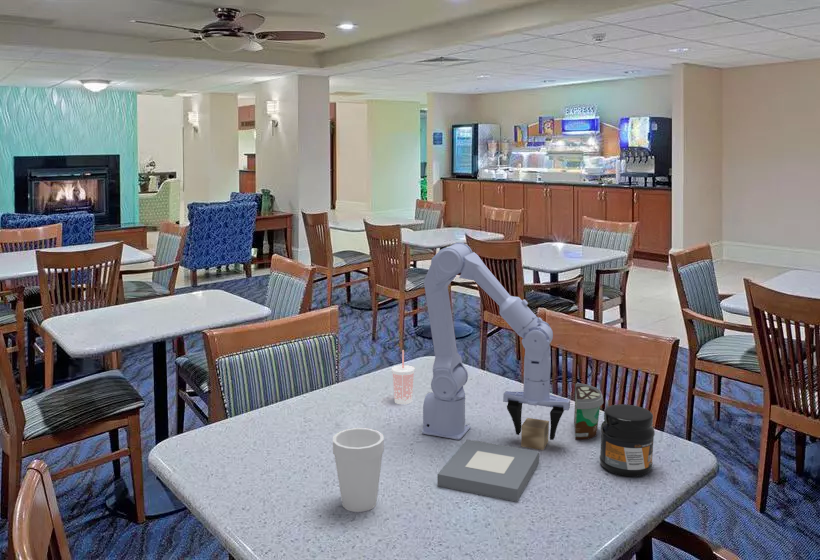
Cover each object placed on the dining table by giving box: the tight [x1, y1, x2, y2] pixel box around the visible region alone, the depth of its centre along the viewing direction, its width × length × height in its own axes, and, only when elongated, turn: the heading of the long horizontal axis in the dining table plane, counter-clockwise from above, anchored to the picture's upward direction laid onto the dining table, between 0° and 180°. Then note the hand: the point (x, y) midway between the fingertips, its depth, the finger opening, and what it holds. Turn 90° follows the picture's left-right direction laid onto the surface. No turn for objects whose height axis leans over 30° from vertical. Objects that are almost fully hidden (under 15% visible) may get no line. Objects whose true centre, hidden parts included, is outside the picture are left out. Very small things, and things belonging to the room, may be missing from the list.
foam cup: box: [332, 427, 385, 513], centre depth 128 cm, size 10×9×13 cm
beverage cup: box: [390, 349, 416, 406], centre depth 180 cm, size 6×6×14 cm
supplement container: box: [599, 403, 655, 478], centre depth 142 cm, size 10×10×12 cm
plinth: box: [436, 439, 540, 502], centre depth 140 cm, size 16×18×3 cm
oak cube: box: [520, 417, 550, 451], centre depth 154 cm, size 5×5×5 cm
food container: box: [573, 382, 604, 441], centre depth 160 cm, size 12×6×10 cm, turn 168°
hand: (535, 435), depth 155 cm, fingers open, 7 cm apart
